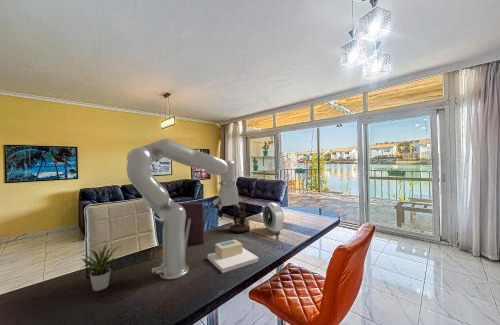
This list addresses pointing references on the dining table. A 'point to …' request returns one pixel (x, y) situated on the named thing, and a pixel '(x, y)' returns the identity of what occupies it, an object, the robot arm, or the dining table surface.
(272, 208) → the alarm clock
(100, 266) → the house plant
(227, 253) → the carton
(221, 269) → the display podium
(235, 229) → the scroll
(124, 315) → the dining table surface
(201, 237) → the picture frame
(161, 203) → the robot arm
